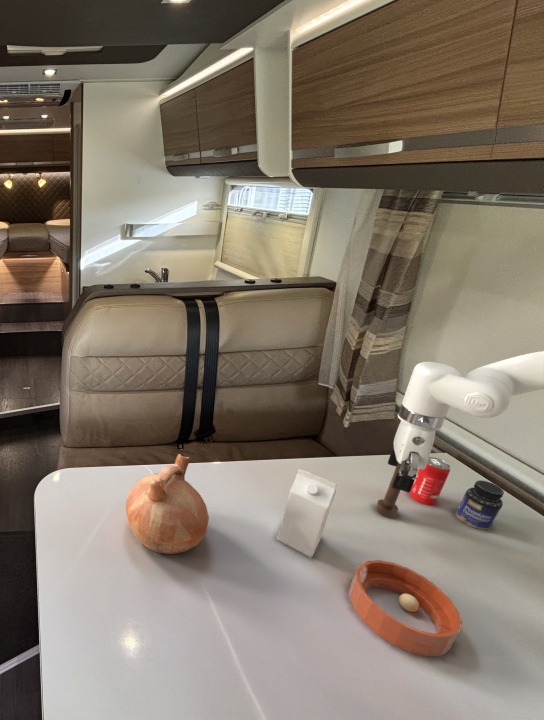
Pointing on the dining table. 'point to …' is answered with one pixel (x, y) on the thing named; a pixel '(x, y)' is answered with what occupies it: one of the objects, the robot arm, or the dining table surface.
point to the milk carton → (306, 512)
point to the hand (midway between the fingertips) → (398, 477)
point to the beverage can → (430, 481)
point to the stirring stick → (389, 499)
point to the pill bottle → (480, 505)
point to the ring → (429, 601)
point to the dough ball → (408, 602)
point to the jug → (167, 510)
